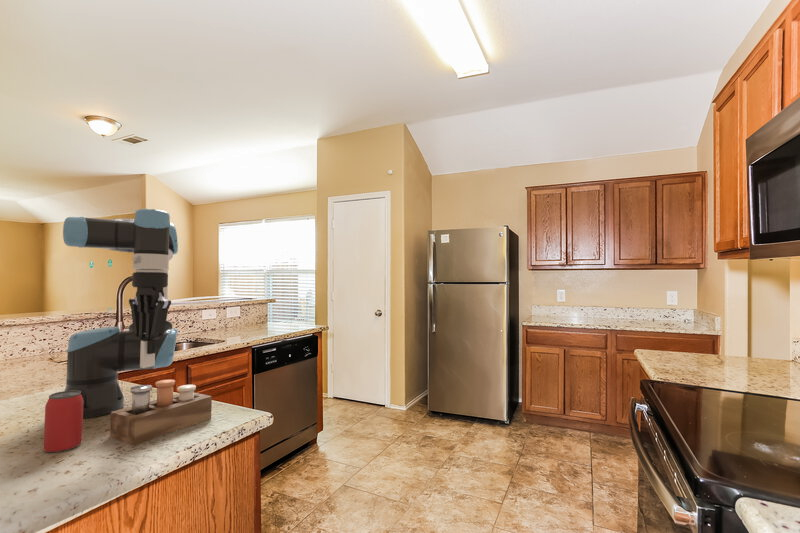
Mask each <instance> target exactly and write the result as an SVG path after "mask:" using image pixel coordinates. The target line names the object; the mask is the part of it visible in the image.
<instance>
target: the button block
mask: <svg viewBox="0 0 800 533" xmlns="http://www.w3.org/2000/svg"><path fill="white" fill-rule="evenodd" d="M212 402H213V397H212V396H211V395H208V394H204V393H197V392H194V398H193V399H190V400H186V401H181V400H179V393H176V394H173V405H169V406H166V407H162V408H160V407H156V406H157V399H154V400H150V406H149V412H145V413H142V414H138V415H134V414H132V405H130V406H129V407H124V408H121V409H119V410H116V411H113V412H111V413H110V424H109V426H110V427H109V438H111V439H114V440H117V441H121V442H123V443H126V444H129V445H132V446H138V445H140V444H143V443H146V442H148V441H149V442H150V441H151V440H155V439H156V438H160V437H163V436H165V435H168V434H172V433H174V432H177V431H179V429H180V430H183V429H185V428H188V427H191V426H193V425H194V426H195V425H196V424H200V423H202V422H204V421H207V420H210V419H212ZM182 428H183V429H182ZM176 430H177V431H176Z"/></svg>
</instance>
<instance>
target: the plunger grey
mask: <svg viewBox="0 0 800 533" xmlns="http://www.w3.org/2000/svg"><path fill="white" fill-rule="evenodd" d="M152 390H153V385H152V384H142V385H141V384H140V385H136V386H135V385H134V386H131V387H130V390H129V391H130V393H131V394H132V395H131V406H132V414H134V415H138V414H142V413H145V412H149V406H150V401H151V391H152Z"/></svg>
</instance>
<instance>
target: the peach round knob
mask: <svg viewBox="0 0 800 533" xmlns="http://www.w3.org/2000/svg"><path fill="white" fill-rule="evenodd" d="M154 383H155V387H156V400H157V406H156V407H160V408H162V407H166V406H169V405H173V395H174V386H175V385H176V380H175V379H162V380H157V381H156V382H154Z"/></svg>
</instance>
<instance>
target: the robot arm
mask: <svg viewBox="0 0 800 533" xmlns="http://www.w3.org/2000/svg"><path fill="white" fill-rule="evenodd" d="M170 219H171V216H170V213H169V212H167V211H165V210H162V209H161V210H160V209H155V208H153V209H152V208H139V209H137V210H136V211H135V212H134V218H108V219H107V218H98V217H97V218H96V217H85V216H68V217H66V218H65V219H64V221H63V227H62V238H63V244H64V245H66V246H67V247H74V248H82V249H83V248H92V249H103V250H110V251H115V252H120V253H133V257H132V269H133V270H134V272H133V273H132V277H131V279H132V281H131V286H132V287H133V288H136V292H135V296H134V298H129V299H128V304H129V307H130V310H131V312H130V313H131V319H132V323H130V325H129V327H128V330H127V331H121V329H120V327H119V326H108V327H107V326H106V327H99V328H93V329H88V330H87V329H86V330H83V331H79V332H75V333H73V334H71V336H69V338H68V343H67V350H66V353H67V359H66V380H65V381H66V384H65V388H64V391H71V390H77V391H81V395H82V397H83V401H84V403H83V420H84V419H89V418H95V417H100V416H104V415H108V414H111V412H113V411H116V410H120V409H123V407H125V406H124V405H125V398H124V394H123V391H122V389H121V386H120V383H119V381H118V380H119V379H118V378H119V376H118V374H119V372H127V371H137V370H139V371H140V370H150V369H153V370H156V369H158V368H166V367H169V366H171V364H172V363H173V361H174V357H175V356H174V355H175V348H176V345H177V344H176V343H177V337H178V332H179V331H178V329H177V328H173V322H171V321H170V320H169V319H168V314H169V313H168V312H169V308H170V307H171V304H172V301H171V299H168V298H169V297H168V295H169V294H168V293H169V292H168V289H169V287H168V285H169V264H170V262H169V261H171V260H172V259H173V258H174V255H176V254H178V252H179V243H178V233H177V228H176V226H175V225H174V223H172V222H171V220H170Z"/></svg>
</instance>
